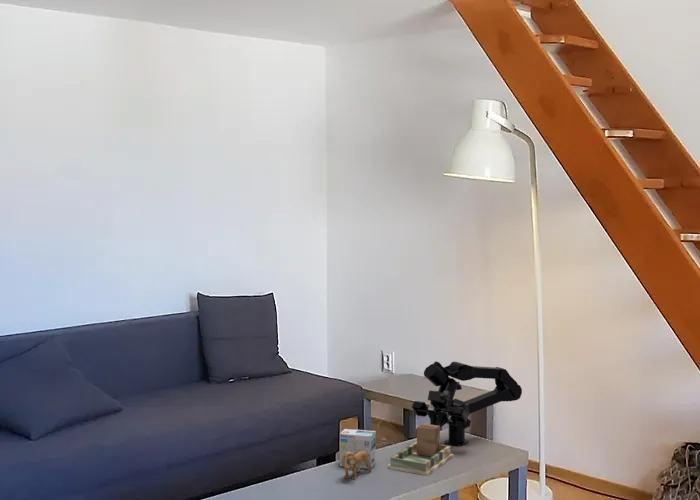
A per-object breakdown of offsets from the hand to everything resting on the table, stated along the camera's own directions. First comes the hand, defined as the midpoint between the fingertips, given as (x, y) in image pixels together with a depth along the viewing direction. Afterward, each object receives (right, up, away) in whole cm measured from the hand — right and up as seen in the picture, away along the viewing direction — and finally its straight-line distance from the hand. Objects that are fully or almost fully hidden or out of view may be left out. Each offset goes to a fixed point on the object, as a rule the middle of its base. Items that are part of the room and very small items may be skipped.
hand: (431, 433), depth 279 cm
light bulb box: (-25, -8, -11) cm, 29 cm away
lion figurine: (-25, -9, -21) cm, 34 cm away
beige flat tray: (-4, -8, -8) cm, 12 cm away
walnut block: (-2, -6, -3) cm, 7 cm away
